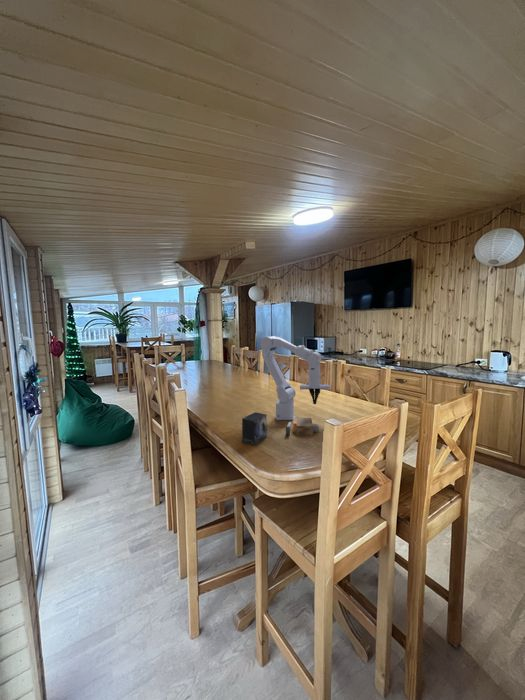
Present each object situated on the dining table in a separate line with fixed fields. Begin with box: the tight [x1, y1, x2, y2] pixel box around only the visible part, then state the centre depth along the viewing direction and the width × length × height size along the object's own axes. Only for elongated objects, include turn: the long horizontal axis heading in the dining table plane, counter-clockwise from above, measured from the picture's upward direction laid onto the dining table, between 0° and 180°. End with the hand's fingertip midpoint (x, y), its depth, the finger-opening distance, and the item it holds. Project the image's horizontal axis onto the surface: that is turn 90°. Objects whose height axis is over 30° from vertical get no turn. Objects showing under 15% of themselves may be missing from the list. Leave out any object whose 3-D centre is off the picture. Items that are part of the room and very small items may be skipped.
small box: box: [241, 411, 268, 446], centre depth 132 cm, size 11×6×10 cm, turn 148°
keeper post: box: [285, 425, 291, 437], centre depth 137 cm, size 2×2×4 cm
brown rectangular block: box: [292, 419, 320, 434], centre depth 142 cm, size 12×6×4 cm, turn 84°
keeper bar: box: [287, 421, 292, 430], centre depth 142 cm, size 8×1×2 cm, turn 169°
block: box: [296, 417, 314, 436], centre depth 142 cm, size 7×12×4 cm, turn 174°
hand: (314, 403), depth 153 cm, fingers closed
